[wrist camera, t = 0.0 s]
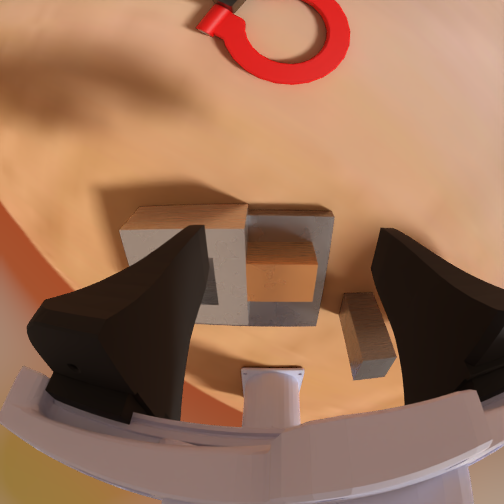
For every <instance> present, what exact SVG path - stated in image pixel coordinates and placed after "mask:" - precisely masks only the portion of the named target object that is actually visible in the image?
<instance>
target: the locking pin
mask: <svg viewBox="0 0 504 504" xmlns="http://www.w3.org/2000/svg"><path fill="white" fill-rule="evenodd" d="M339 318H340V322H341V326H342V330H343V334H344V339H345V343H346V348H347V352H348V357H349V361H350V366H351V371H352V376H353V380H361V379H370V378H378V377H385V375H386V373H387V372H388V370H389V369H390V367H391V365H392V364H393V362H394V361H395V359H396V354H395V351H394V348H393V345H392V342H391V339H390V337H389V334H388V331H387V328H386V326H385V323H384V320H383V318H382V315H381V313H380V310H379V307H378V305H377V302H376V300H375V297H374V295H373V293H372V292H369V293H344V297H343V301H342V305H341V309H340V312H339Z"/></svg>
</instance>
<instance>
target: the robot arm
mask: <svg viewBox="0 0 504 504" xmlns="http://www.w3.org/2000/svg"><path fill="white" fill-rule="evenodd" d="M209 268H210V266H209V258H208V250H207V242H206V233H205V225H189V226H187V227H186V228H184V229H183V230H181V231H180V232H179V233H177V234H176V235H175V236H173V237H172V238H171V239H169V240H168V241H167V242H165V243H164V244H163V245H161V246H160V247H158V248H157V249H156V250H154V251H153V252H151V253H150V254H148V255H147V256H145V257H144V258H143V259H141V260H139V261H138V262H136V263H135V264H133V265H131V266H129V267H128V268H126V269H124V270H122V271H120V272H118V273H116V274H114V275H112V276H110V277H108V278H106V279H104V280H102V281H100V282H97V283H95V284H92V285H90V286H87V287H85V288H82V289H79V290H77V291H74V292H71V293H67V294H64V295H61V296H57V297H53V298H50V299H46V300H44V302H43V303H42V305H41V306H40V308H39V309H38V310H37V312H36V313H35V314H34V316H33V317H32V319H31V320H30V322H29V324H28V325H27V334H28V337H29V339H30V342H31V343H32V345H33V346H34V348H35V349H36V350H37V352H38V353H39V355H40V356H41V357H42V358H43V360H44V361H45V362H46V363H47V364H48V366H49V367H50V368H51V369H52V371H53V374H52V377H51V378H48V377H47V376H46V375H44V374H42V373H40V372H38V371H35V370H33V369H31V368H28V367H26V366H22V368H21V370H20V372H19V374H18V376H17V377H16V379H15V381H14V383H13V385H12V387H11V390H10V392H9V394H8V396H7V398H6V400H5V402H4V404H3V407H2V409H1V411H0V423H1V424H2V425H3V426H4V427H6V428H7V429H8V430H10V431H11V432H13V433H14V434H15V435H17V436H18V437H19V438H21V439H22V440H24V441H25V442H27V443H28V444H30V445H32V446H33V447H35V448H36V449H38V450H39V451H41V452H43V453H44V454H46V455H48V456H50V457H52V458H54V459H55V460H57V461H59V462H61V463H63V464H65V465H67V466H69V467H71V468H73V469H75V470H77V471H79V472H82V473H84V474H86V475H88V476H91V477H93V478H95V479H98V480H100V481H103V482H105V483H108V484H110V485H113V486H116V487H119V488H122V489H125V490H128V491H131V492H134V493H137V494H140V495H144V496H147V497H151V498H155V499H159V500H162V504H474V500H473V493H472V486H471V480H470V475H469V469H468V466H470V465H472V464H474V463H476V462H477V461H479V460H481V459H483V458H485V457H486V456H488V455H490V454H492V453H493V452H495V451H497V450H498V449H500V448H501V447H503V446H504V289H502V288H499V287H496V286H494V285H492V284H489V283H487V282H485V281H483V280H480V279H478V278H476V277H474V276H472V275H470V274H468V273H466V272H464V271H463V270H461V269H459V268H457V267H455V266H454V265H452V264H450V263H449V262H447V261H445V260H444V259H442V258H441V257H439V256H437V255H436V254H434V253H433V252H431V251H430V250H428V249H427V248H425V247H424V246H422V245H421V244H419V243H418V242H416V241H415V240H413V239H412V238H410V237H409V236H407V235H405V234H404V233H402V232H400V231H398V230H396V229H394V228H381V229H380V233H379V238H378V242H377V246H376V250H375V254H374V258H373V262H372V266H371V271H372V275H373V279H374V282H375V286H376V289H377V291H378V294H379V296H380V299H381V301H382V304H383V306H384V309H385V311H386V314H387V316H388V319H389V321H390V324H391V327H392V329H393V332H394V336H395V339H396V344H397V348H398V353H399V358H400V364H401V370H402V377H403V387H404V401H405V406H400V407H395V408H390V409H384V410H378V411H372V412H365V413H358V414H350V415H342V416H337V417H331V418H326V419H319V420H313V421H309V422H306V423H303V424H300V405H299V391H300V387H301V383H302V379H303V375H304V369H303V368H242V369H241V375H242V385H243V395H244V408H243V422H242V427H225V426H213V425H205V424H195V423H188V422H182V421H180V417H181V403H182V393H183V384H184V376H185V369H186V362H187V356H188V350H189V344H190V339H191V335H192V331H193V327H194V324H195V321H196V318H197V315H198V311H199V308H200V305H201V302H202V299H203V296H204V292H205V289H206V285H207V280H208V274H209Z"/></svg>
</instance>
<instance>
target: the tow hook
mask: <svg viewBox="0 0 504 504" xmlns="http://www.w3.org/2000/svg"><path fill="white" fill-rule="evenodd" d="M245 1H246V0H213V2H214V6H213V7H212V8H211V9H210V10H209V12H208V13H207V14H206V15H205V16H204V18H203V19H202V20H201V21H200V23H199V24H198V25H197V27H196V29H197V30H199V31H200V32H202V33H204V34H206V35H208V36H212V37H213V36H214V35H215V36H217V37H219V38H221V39H223V40H224V43H225V46H226V48H227V50H228V51H229V53H230V54H231V56H232V58H233V59H234V60H235V61H236V62H237V63H238V64H239V65H240V66H241V67H242V68H243V69H244V70H246V71H247V72H249V73H251V74H253V75H254V76H256V77H258V78H260V79H263V80H266V81H270V82H273V83H279V84H290V85H294V84H302V83H309V82H312V81H314V80H317V79H320V78H323V77H324V76H326V75H327V74H329V73H330V72H331V71H333V70H334V69H336V68H337V66H338V65H339V64H340V62H341V61H342V60H343V59H344V57H345V55H346V52H347V50H348V47H349V43H350V29H349V25H348V21H347V17H346V15H345V14H344V12H343V10H342V9H341V7H340V5H339V4H338V3H337V2H336V1H335V0H301V1H304V2H306V3H307V4H309V5H311V6H312V7H313V8H314V9H315V10H316V11H317V12H318V13H319V14H320V15H321V17H322V19H323V20H324V22H325V26H326V30H327V33H326V41H325V43H324V46H323V48H322V49H321V50H320V52H319V53H318V54H317V55H316V56H314V57H313V58H311V59H310V60H307V61H305V62H302V63H295V64H286V63H279V62H276V61H272V60H269V59H268V58H266V57H264V56H262V55H261V54H259V53H258V52H257V51H256V50H255V49H254V48H253V47H252V45H251V44H250V42H249V41H248V39H247V36H246V32H245V25H246V24H245V21H244V20H243V19H242V18H240V17H238V16H236V15H234V13H235V12H236V11H237V10H238V9H239V8H240V6H241V5H242V4H243V3H244V2H245Z"/></svg>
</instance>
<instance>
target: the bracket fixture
mask: <svg viewBox="0 0 504 504" xmlns="http://www.w3.org/2000/svg"><path fill="white" fill-rule="evenodd" d="M333 224H334V215H333V213H332V211H304V210H248V204H200V205H168V206H146V207H139V208H138V209H137V211H136V212H135V213H134V214H133V215H132V216H131V217H130V218H129V219H128V220H127V222H126V223H125V224H124V225H123V226H122V227H121V228H120V230H119V232H120V236H121V239H122V243H123V246H124V250H125V253H126V257H127V260H128V263H129V266H131V265H133V264H135V263H136V262H138V261H139V260H141V259H143V258H144V257H145V256H147V255H148V254H150V253H151V252H153V251H154V250H156V249H157V248H158V247H160V246H161V245H163V244H164V243H165V242H167V241H168V240H169V239H171V238H172V237H173V236H175V235H176V234H177V233H179V232H180V231H181V230H183V229H184V228H186V227H187V226H189V225H205V233H206V242H207V250H208V258H209V266H210V268H209V274H208V280H207V285H206V289H205V292H204V296H203V299H202V302H201V305H200V308H199V311H198V315H197V318H196V321H195V324H210V325H232V326H316V323H317V318H318V314H319V309H320V303H321V298H322V293H323V287H324V282H325V276H326V270H327V264H328V258H329V252H330V245H331V238H332V231H333Z"/></svg>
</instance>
